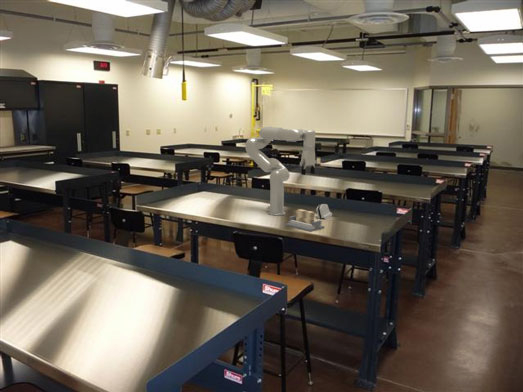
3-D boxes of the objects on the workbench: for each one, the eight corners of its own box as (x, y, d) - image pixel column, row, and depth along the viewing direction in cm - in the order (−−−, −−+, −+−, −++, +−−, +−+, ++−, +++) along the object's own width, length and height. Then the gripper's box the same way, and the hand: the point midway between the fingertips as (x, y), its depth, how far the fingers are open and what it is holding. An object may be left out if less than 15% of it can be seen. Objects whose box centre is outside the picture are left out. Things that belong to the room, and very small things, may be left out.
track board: (285, 225, 287) (285, 217, 286) (299, 222, 296) (299, 214, 296) (310, 231, 273) (310, 223, 272) (324, 228, 283) (324, 219, 282)
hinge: (325, 219, 305) (321, 205, 305) (318, 221, 307) (314, 207, 307) (332, 215, 320) (328, 201, 320) (326, 216, 322) (322, 203, 322)
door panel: (296, 223, 288) (296, 209, 286) (299, 222, 290) (299, 209, 288) (310, 227, 279) (311, 212, 278) (313, 226, 282) (314, 212, 280)
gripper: (312, 147, 309) (311, 172, 312) (296, 148, 297) (295, 174, 300) (321, 148, 304) (320, 173, 307) (305, 149, 292) (304, 175, 295)
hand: (307, 174), depth 304 cm, fingers open, 9 cm apart
